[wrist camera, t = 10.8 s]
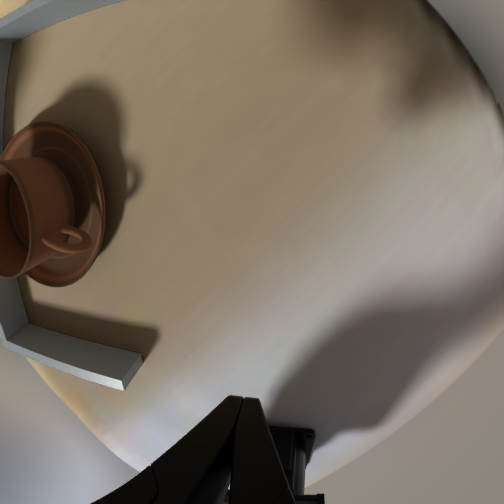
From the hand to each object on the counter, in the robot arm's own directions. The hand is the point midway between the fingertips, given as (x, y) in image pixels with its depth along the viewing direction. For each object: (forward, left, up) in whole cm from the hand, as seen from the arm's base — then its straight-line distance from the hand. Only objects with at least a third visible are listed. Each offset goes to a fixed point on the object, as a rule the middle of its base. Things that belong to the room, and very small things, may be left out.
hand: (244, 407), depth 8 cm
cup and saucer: (+3, +16, -12) cm, 21 cm away
